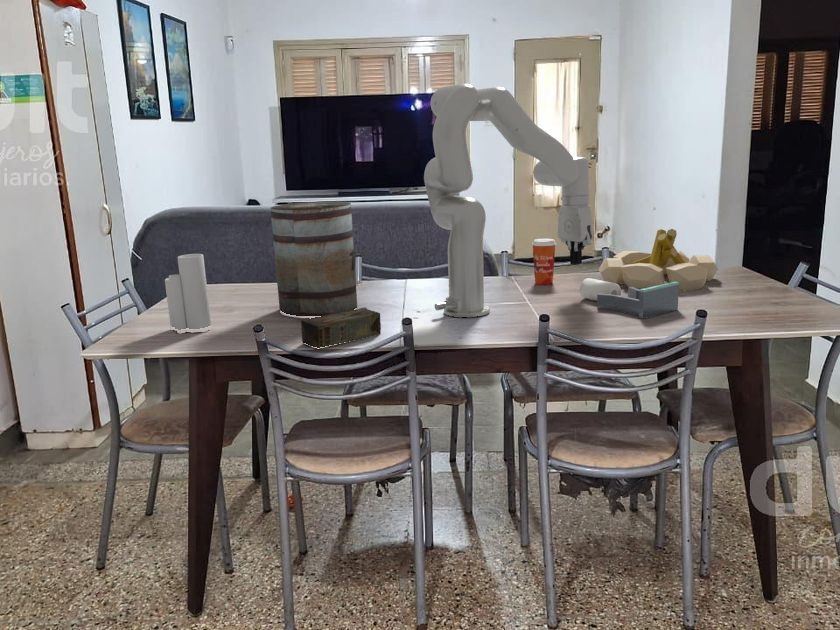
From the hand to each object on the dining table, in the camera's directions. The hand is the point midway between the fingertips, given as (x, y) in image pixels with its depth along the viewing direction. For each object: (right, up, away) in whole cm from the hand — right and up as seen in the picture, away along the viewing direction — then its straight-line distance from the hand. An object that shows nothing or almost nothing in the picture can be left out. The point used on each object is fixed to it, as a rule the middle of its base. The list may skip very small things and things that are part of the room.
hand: (576, 263), depth 212 cm
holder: (+13, -13, -17) cm, 25 cm away
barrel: (-75, -14, -2) cm, 77 cm away
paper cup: (-6, -5, +21) cm, 22 cm away
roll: (+5, -11, -6) cm, 14 cm away
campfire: (+30, -5, +18) cm, 35 cm away
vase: (-107, -19, -20) cm, 111 cm away
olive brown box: (-65, -22, -34) cm, 76 cm away
